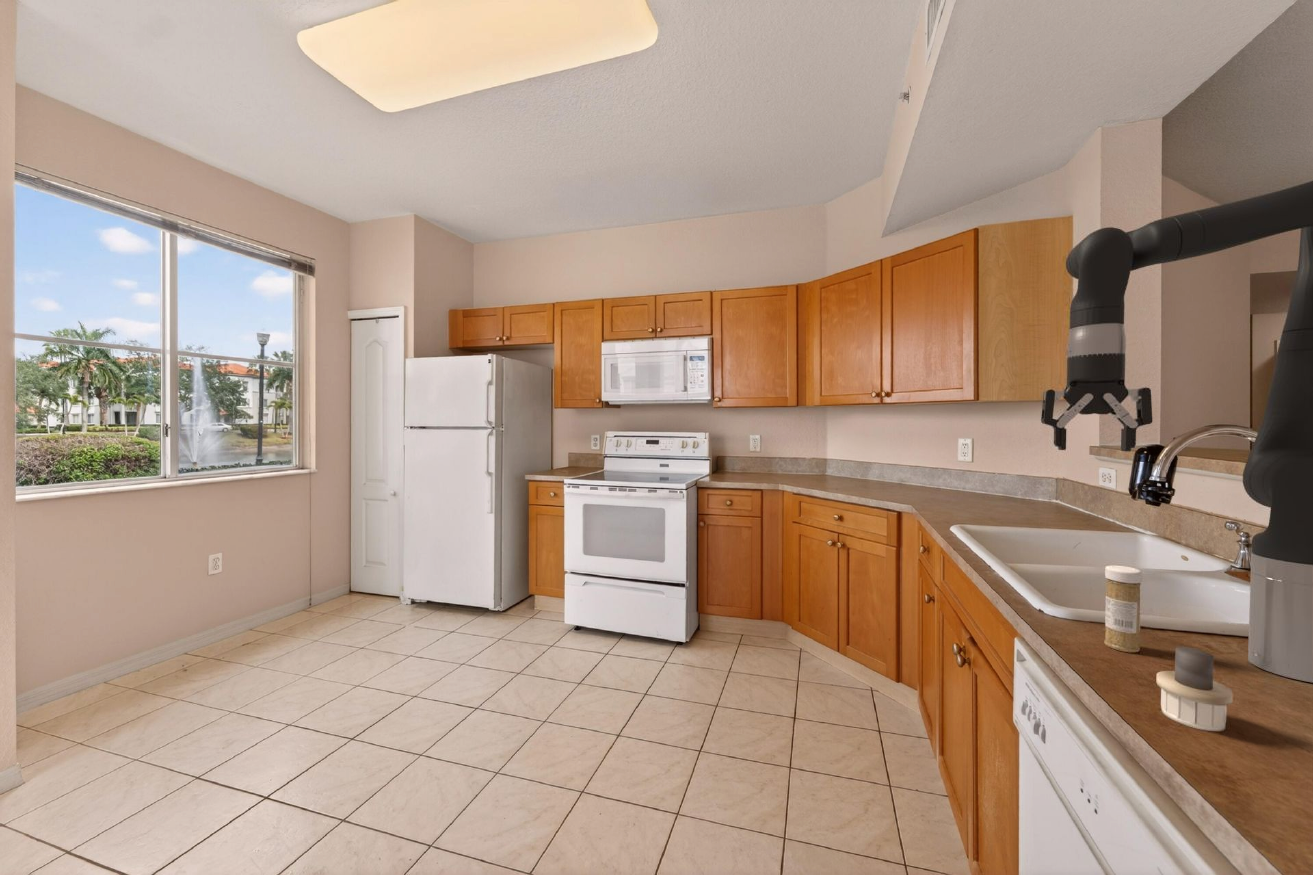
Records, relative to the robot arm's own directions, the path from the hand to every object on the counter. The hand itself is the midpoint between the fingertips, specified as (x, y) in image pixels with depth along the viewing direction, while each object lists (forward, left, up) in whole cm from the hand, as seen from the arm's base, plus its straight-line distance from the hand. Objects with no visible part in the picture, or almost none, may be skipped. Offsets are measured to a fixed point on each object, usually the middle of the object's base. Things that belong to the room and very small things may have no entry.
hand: (1093, 450), depth 88 cm
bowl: (+7, +22, -33) cm, 40 cm away
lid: (+7, +22, -30) cm, 37 cm away
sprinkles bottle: (-4, +2, -33) cm, 34 cm away
